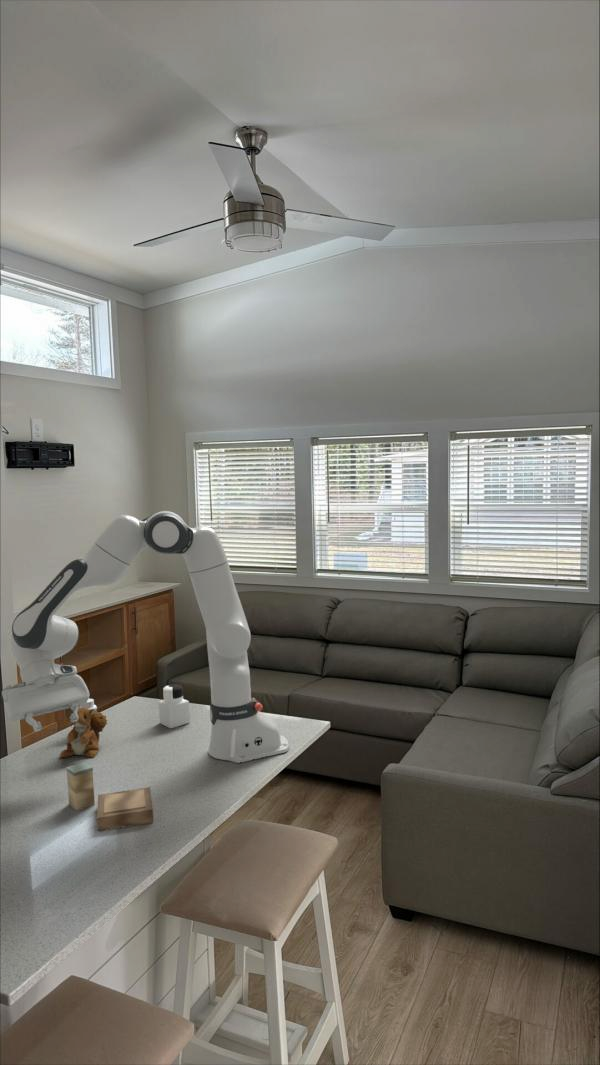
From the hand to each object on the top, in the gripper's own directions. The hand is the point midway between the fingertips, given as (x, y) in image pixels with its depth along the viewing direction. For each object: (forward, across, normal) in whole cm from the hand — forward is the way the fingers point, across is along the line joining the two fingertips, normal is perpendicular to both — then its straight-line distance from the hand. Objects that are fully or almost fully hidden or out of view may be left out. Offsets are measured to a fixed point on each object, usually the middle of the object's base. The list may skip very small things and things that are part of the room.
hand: (57, 725), depth 177 cm
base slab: (+29, +6, -6) cm, 30 cm away
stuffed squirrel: (-2, +15, +26) cm, 30 cm away
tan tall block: (+20, 0, +2) cm, 21 cm away
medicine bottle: (-3, +44, +26) cm, 52 cm away
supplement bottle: (-12, +21, +35) cm, 42 cm away
